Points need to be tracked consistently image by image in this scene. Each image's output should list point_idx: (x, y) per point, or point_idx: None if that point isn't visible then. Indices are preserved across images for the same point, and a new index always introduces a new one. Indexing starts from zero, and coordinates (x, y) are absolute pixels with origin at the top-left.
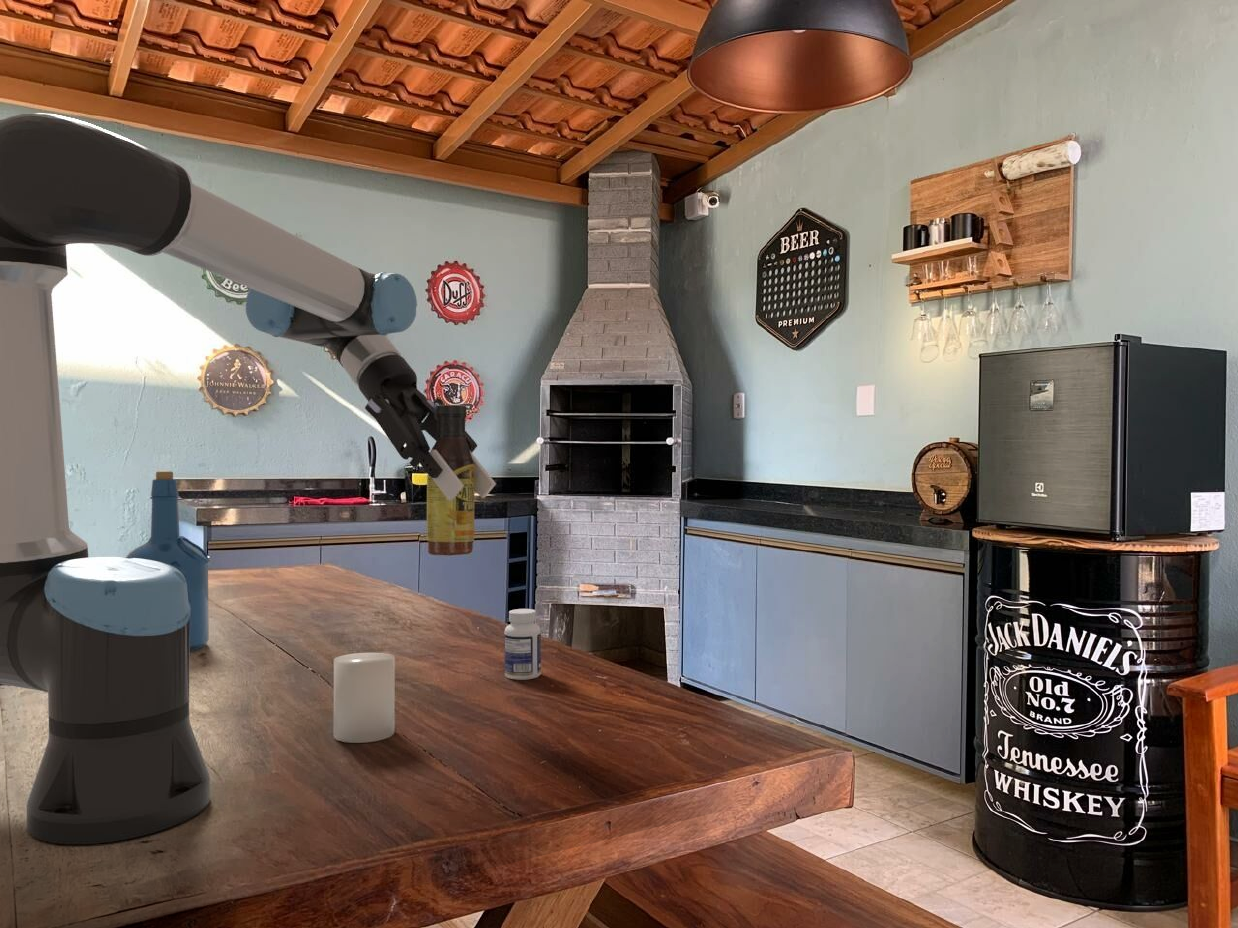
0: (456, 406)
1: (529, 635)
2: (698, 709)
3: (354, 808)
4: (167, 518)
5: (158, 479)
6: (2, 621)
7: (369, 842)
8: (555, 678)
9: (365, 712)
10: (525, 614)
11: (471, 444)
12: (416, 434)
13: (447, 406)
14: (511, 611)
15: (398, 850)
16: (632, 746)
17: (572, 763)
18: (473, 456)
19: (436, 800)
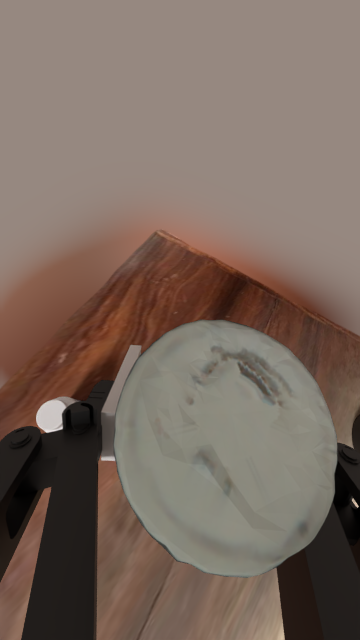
0: (266, 336)
1: (74, 400)
2: (121, 283)
3: (312, 356)
4: None
5: None
6: None
7: (324, 331)
8: (76, 387)
9: None
10: (64, 403)
11: (87, 407)
12: (333, 507)
13: (309, 377)
14: (56, 424)
15: (321, 319)
16: (190, 292)
17: (222, 305)
18: (114, 392)
19: (286, 332)
